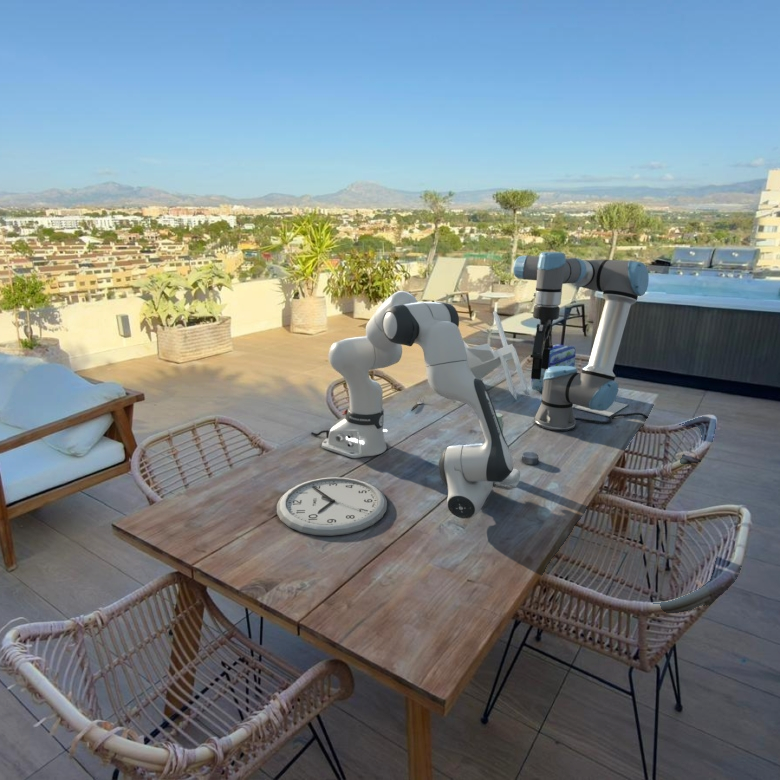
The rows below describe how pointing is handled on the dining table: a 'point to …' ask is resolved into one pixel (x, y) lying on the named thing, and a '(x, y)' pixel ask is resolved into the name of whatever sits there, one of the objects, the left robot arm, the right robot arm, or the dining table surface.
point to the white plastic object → (495, 360)
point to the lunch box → (556, 362)
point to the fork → (418, 403)
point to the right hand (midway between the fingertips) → (539, 373)
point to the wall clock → (331, 506)
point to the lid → (530, 458)
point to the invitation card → (608, 412)
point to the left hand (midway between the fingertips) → (489, 462)
